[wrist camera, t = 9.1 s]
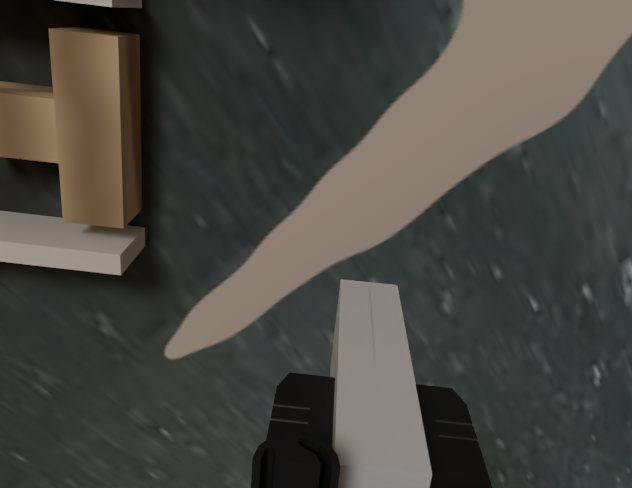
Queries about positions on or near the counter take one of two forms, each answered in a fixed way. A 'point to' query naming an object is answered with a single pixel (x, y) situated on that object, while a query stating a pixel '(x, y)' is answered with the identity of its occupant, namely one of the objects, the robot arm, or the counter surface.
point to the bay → (70, 228)
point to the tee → (83, 124)
